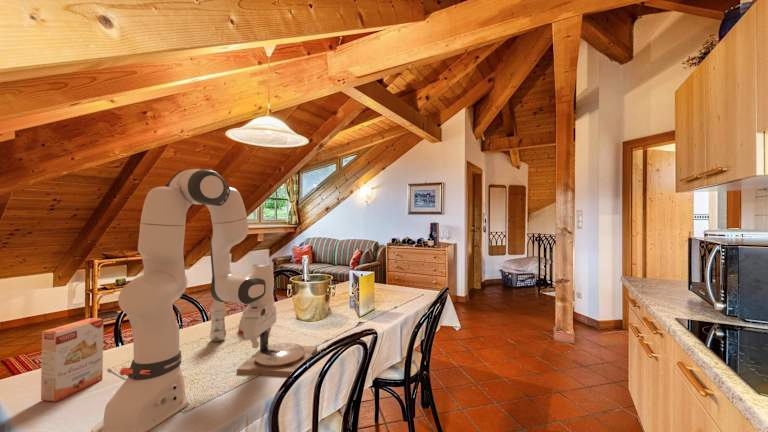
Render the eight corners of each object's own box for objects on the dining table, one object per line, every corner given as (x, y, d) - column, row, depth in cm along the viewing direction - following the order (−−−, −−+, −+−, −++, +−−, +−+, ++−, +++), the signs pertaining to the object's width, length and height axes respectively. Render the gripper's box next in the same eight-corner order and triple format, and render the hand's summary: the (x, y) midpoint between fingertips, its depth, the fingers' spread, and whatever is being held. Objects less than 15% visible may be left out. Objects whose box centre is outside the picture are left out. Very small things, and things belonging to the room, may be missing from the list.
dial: (312, 349, 131) (312, 327, 131) (288, 369, 113) (288, 345, 113) (273, 344, 135) (273, 324, 135) (244, 363, 118) (243, 340, 118)
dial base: (297, 376, 112) (297, 371, 112) (236, 373, 114) (236, 368, 114) (317, 350, 134) (317, 345, 134) (265, 348, 136) (265, 343, 136)
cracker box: (56, 403, 97) (56, 332, 97) (40, 401, 98) (39, 331, 98) (104, 379, 110) (104, 317, 110) (89, 378, 111) (89, 316, 111)
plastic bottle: (223, 336, 149) (222, 293, 149) (228, 340, 145) (228, 295, 145) (207, 340, 145) (207, 295, 145) (212, 344, 140) (212, 298, 140)
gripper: (265, 299, 136) (265, 332, 136) (240, 313, 115) (239, 353, 115) (280, 299, 135) (280, 333, 135) (257, 314, 115) (256, 353, 115)
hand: (261, 342), depth 125 cm, fingers open, 8 cm apart
